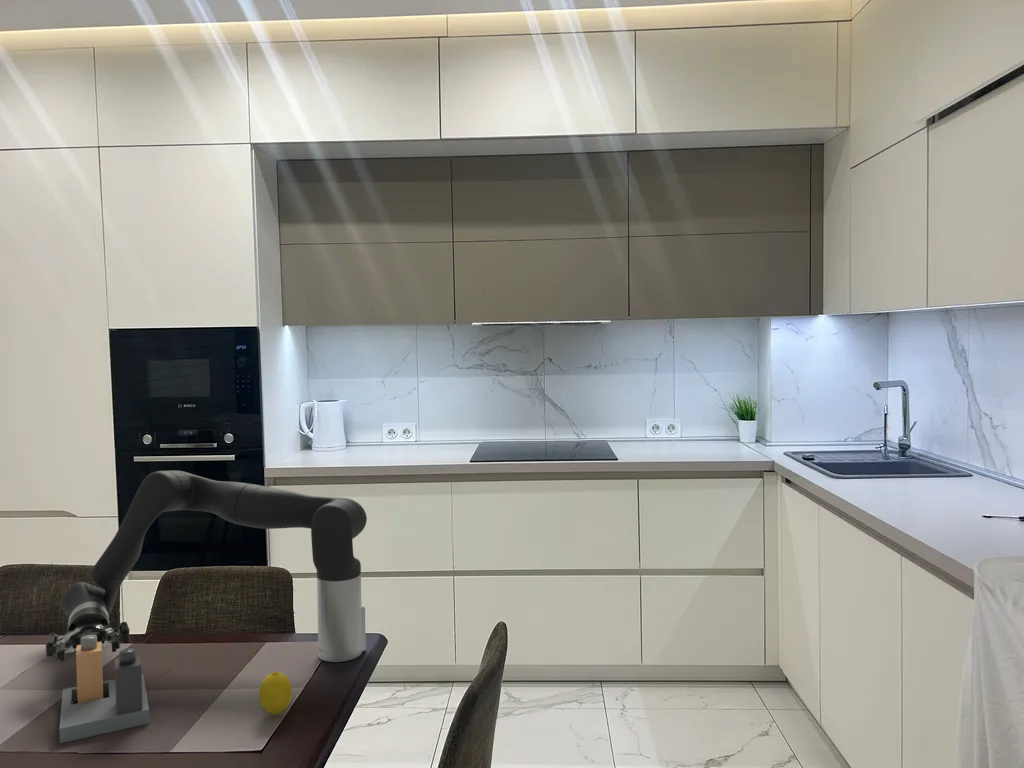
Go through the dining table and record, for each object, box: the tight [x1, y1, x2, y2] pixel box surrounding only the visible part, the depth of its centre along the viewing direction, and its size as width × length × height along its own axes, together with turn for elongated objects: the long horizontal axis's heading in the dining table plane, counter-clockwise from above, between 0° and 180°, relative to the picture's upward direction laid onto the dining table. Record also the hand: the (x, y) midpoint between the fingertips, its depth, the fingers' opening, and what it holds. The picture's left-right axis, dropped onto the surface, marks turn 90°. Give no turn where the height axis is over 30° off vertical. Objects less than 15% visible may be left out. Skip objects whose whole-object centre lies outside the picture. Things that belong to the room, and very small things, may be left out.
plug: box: [75, 635, 104, 703], centre depth 138 cm, size 4×5×13 cm
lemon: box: [258, 670, 293, 717], centre depth 134 cm, size 6×6×8 cm
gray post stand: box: [58, 647, 150, 744], centre depth 135 cm, size 14×17×12 cm
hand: (88, 651), depth 142 cm, fingers open, 8 cm apart
